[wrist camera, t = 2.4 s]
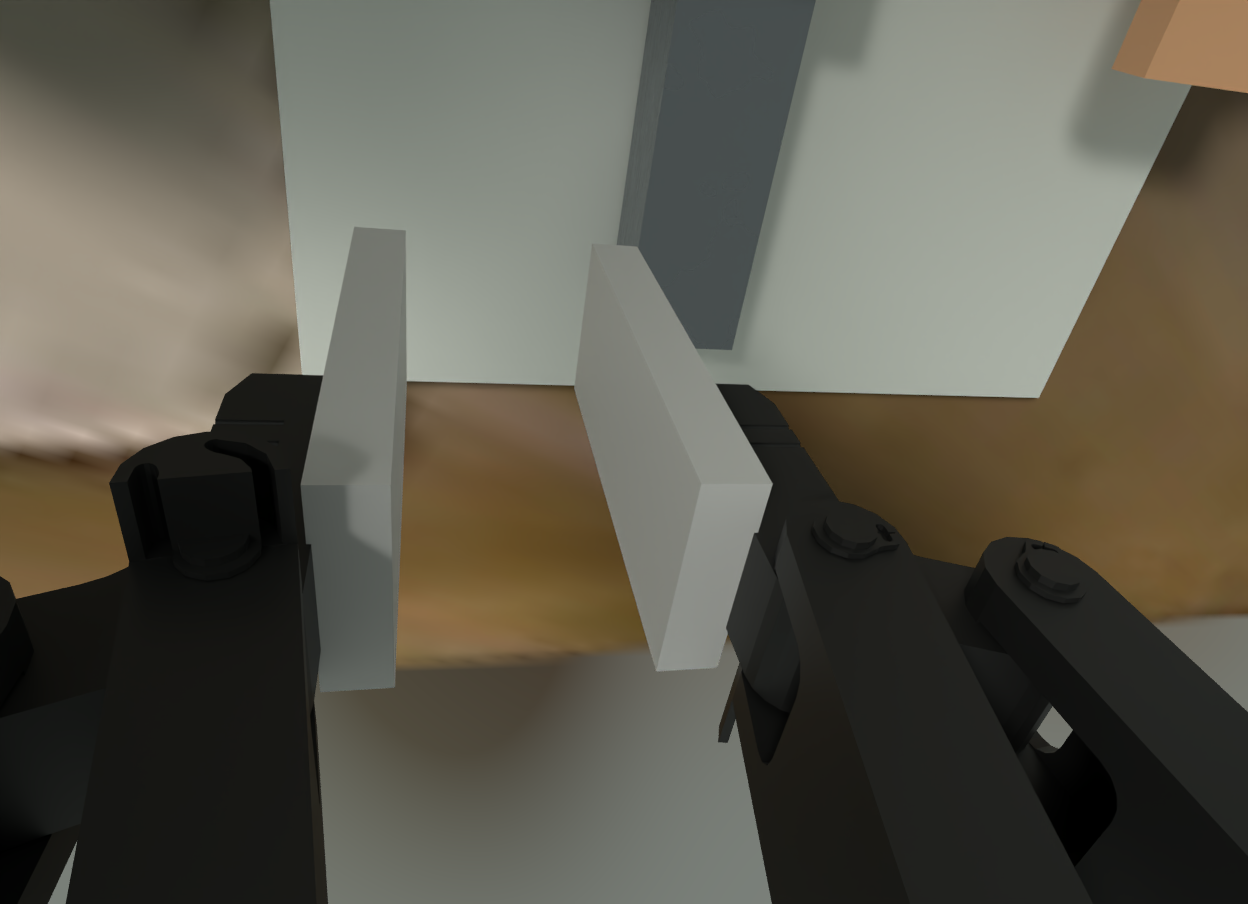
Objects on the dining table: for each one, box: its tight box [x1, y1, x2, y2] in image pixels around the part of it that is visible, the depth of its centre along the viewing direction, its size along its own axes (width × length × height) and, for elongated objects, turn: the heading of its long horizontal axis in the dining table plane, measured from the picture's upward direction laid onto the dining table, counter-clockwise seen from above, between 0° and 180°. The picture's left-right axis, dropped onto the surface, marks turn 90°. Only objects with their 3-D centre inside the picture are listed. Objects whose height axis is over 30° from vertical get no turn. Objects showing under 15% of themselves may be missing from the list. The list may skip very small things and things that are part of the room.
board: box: [270, 0, 1192, 398], centre depth 28 cm, size 24×32×1 cm
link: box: [617, 0, 816, 350], centre depth 24 cm, size 18×6×4 cm, turn 171°
